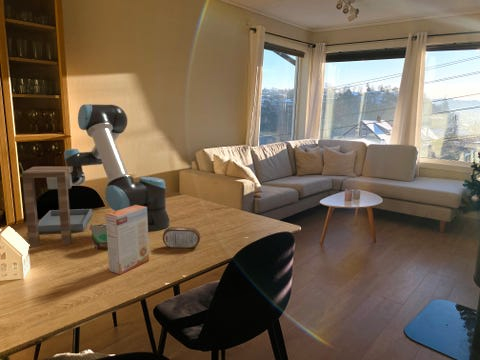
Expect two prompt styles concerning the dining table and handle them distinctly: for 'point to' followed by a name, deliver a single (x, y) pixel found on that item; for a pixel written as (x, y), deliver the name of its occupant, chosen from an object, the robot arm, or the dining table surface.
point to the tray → (77, 221)
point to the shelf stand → (30, 200)
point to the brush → (53, 182)
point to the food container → (99, 236)
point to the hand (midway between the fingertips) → (62, 171)
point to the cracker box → (127, 238)
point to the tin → (181, 237)
